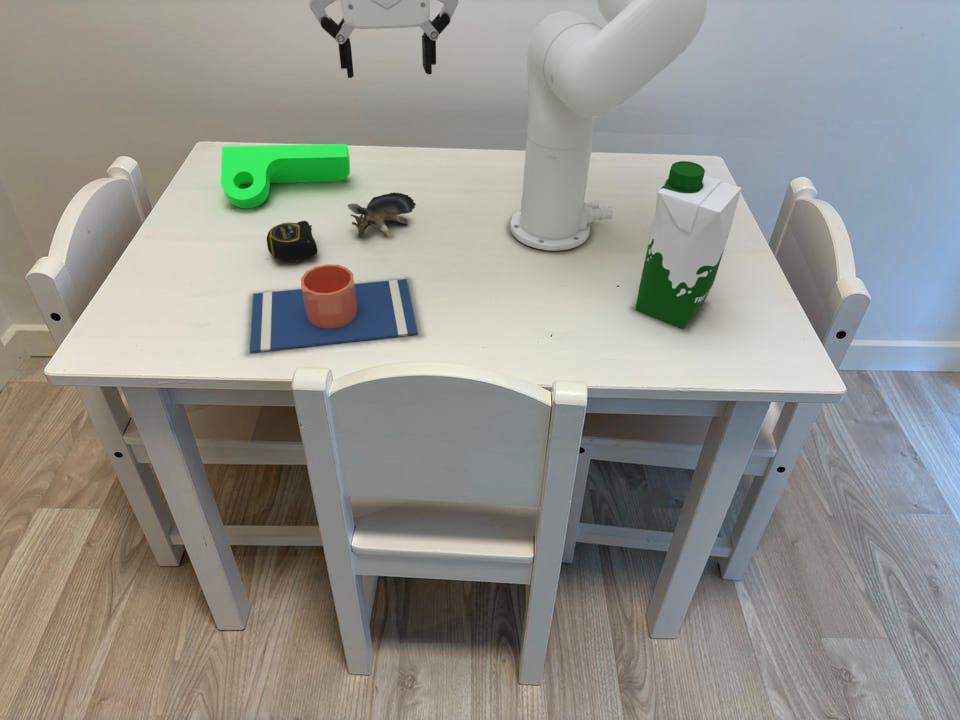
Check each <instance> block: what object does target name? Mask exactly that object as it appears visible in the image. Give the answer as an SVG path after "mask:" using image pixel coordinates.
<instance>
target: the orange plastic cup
mask: <svg viewBox="0 0 960 720" xmlns="http://www.w3.org/2000/svg"><path fill="white" fill-rule="evenodd" d="M354 284H355V278H354V273H353V272H352V270H350V269H349V268H348V267H345V266H343V265H339V264H330V263H329V264H328V263H327V264H321V265H317V266H314V267H312V268H310V269H308V270H307V271H305V272H304V274H303V275H302V276H301V277H300V287H301V288H300V289H302V293H303V299H304V304H305V310H306V315H307V318H308V320H309V321H310V322H311V323H312V324H313V325H315V326H317V327H320V328H326V329H332V328H339V327H342V326H345V325H347V324H349V323H350V322H352V321H353V320H354V319H355V317H356V315H357V303H356V294H355V286H354Z"/></svg>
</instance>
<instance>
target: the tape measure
mask: <svg viewBox="0 0 960 720" xmlns="http://www.w3.org/2000/svg"><path fill="white" fill-rule="evenodd" d="M312 226H313V225H312V224H310V223H309V221H307V220H301V221H298V222H290V221H289V222H282V223H279V224H277V225H275V226H272V227H271V228H270V229H269V230H268V232H267V235H266V246H267V250H268V252H269V253H270V254H271V256H272V257H273V258H274V259H276V260H278V261H280V262H285V263H287V262H288V263H296V262H299V261H302V260H305V259H310V258H314V257H315V256H317V254H318V246H317V242H316V240H315V238H314V236H313V232H312V231H313V228H312Z"/></svg>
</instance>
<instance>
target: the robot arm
mask: <svg viewBox="0 0 960 720" xmlns="http://www.w3.org/2000/svg"><path fill="white" fill-rule="evenodd" d="M336 1H337V0H309V1H308V3H309V9H310V11H311V12H312V14H313V15H314V17H315V18H316V20H317V21H318V23H319V24H320V27H321V28H322V29H323V30H324V31H325V32H326V33H327V34H328V35H330V36H331V37H332V38H333V39H334V40H335V42H336V43H337V44H338V54H339V55H338V56H339V62H340V69H341V70H344V69H346V73H347V74H346V76H347V78H348V79H353V78H354V77H355V75H354V65H353V52H352V44H351V40H350V36H351V34H352V33H353V31H354V30H355V29H357V30H379V29H380V30H382V29H405V28H408V29H409V28H418V27H420V28H421V30H422V31H423V33H422V35H421V50H422V51H421V54H422V55H421V56H422V67H423V70H424V73H425V74H426V75H433V69H432V66H434V65H437V40H438V39H439V37H440V35H441V33H443V31H444V30H445V29H446V28H447V27H448V26H449V25H450V24H451V20H452V17H453V16H454V13H455V11H456V9H457V7H458V5H459V0H437V1H438V2H440V3H442V8H441V10H440V12H439V13H438V14H437V15H436V16H435V17H434V18H433V19H432V20H431V18H430V17H431V0H340V7H341V13H342V18H341V19H340V21H339V22H338V23H337V22H336V21H334V19H333V18H332V17H331V16H329V14H328V13H327V11H326V8H327V7H328V6H329V5H332V4H333V3H335V2H336ZM707 2H708V1H707V0H597V7H598V9H599V12H600V14H601V16H602V17H603V18H604V20H605V21H606V22H607V24H606V25H605V26H604V27H601V26H600V25H599V24H597V23H595V22H594V21H593V20H592V19H591V18H589V17H587V16H586V15H584V14H582V13H580V12H577V11H573V10H560V11H555V12H552V13H550V14H549V15H547V16H545V18H543V19H542V20H541V21H540V22H539V23H538V24H537V26H536V27H535V29H534V31H533V32H532V34H531V37H530V40H529V43H528V48H527V60H526V63H527V65H526V68H527V84H528V86H527V87H528V113H527V114H528V115H527V129H526V130H527V131H526V140H525V152H524V166H523V180H522V191H521V192H522V193H521V205H520V209H518V210H517V211H515V212H514V213H513V214H512V215H511V218H510V222H509V230H510V233H511V234H512V236H513V237H514V238H515V239H516V240H518V241H519V242H520V243H522V244H523V245H526V246H528V247H530V248H534V249H537V250H542V251H553V252H554V251H555V252H557V251H558V252H559V251H566V250H570V249H575V248H577V247H579V246H581V245H582V244H584V243H585V242H586V241H587V240H588V239H589V236H590V234H591V224H593V222H594V221H608V220H612V218H613V208H612V207H611V206H605V207H600V203H599V201H590V202H585V197H586V191H587V185H588V184H587V183H588V177H589V171H590V165H591V164H590V163H591V156H592V149H593V143H594V136H595V130H596V122H597V121H596V120H597V118H598V117H603V116H605V115H607V114H609V113H611V112H614V110H616V109H618V108H620V107H621V106H622V105H623V104H624V103H626V102H627V101H628V100H629V99H630V98H632V97H633V96H634V95H635V94H636V93H637V92H639V91H640V90H641V89H642V88H644V87H645V86H646V85H647V84H648V83H650V82H651V81H652V80H653V79H654V78H655V77H656V76H658V75H659V74H660V73H662V71H664V70H665V68H667V67H668V66H669V65H670V64H672V62H674V61H676V60H677V58H678V57H679V56H680V55H682V54H683V53H684V52H685V51H686V50H687V49H688V47H689V46H690V45H691V44H692V43H693V41H694V40H695V38H696V36H697V35H698V33H699V32H700V30H701V28H702V26H703V24H704V20H705V17H706V13H707V6H708V5H707V4H708V3H707Z"/></svg>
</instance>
